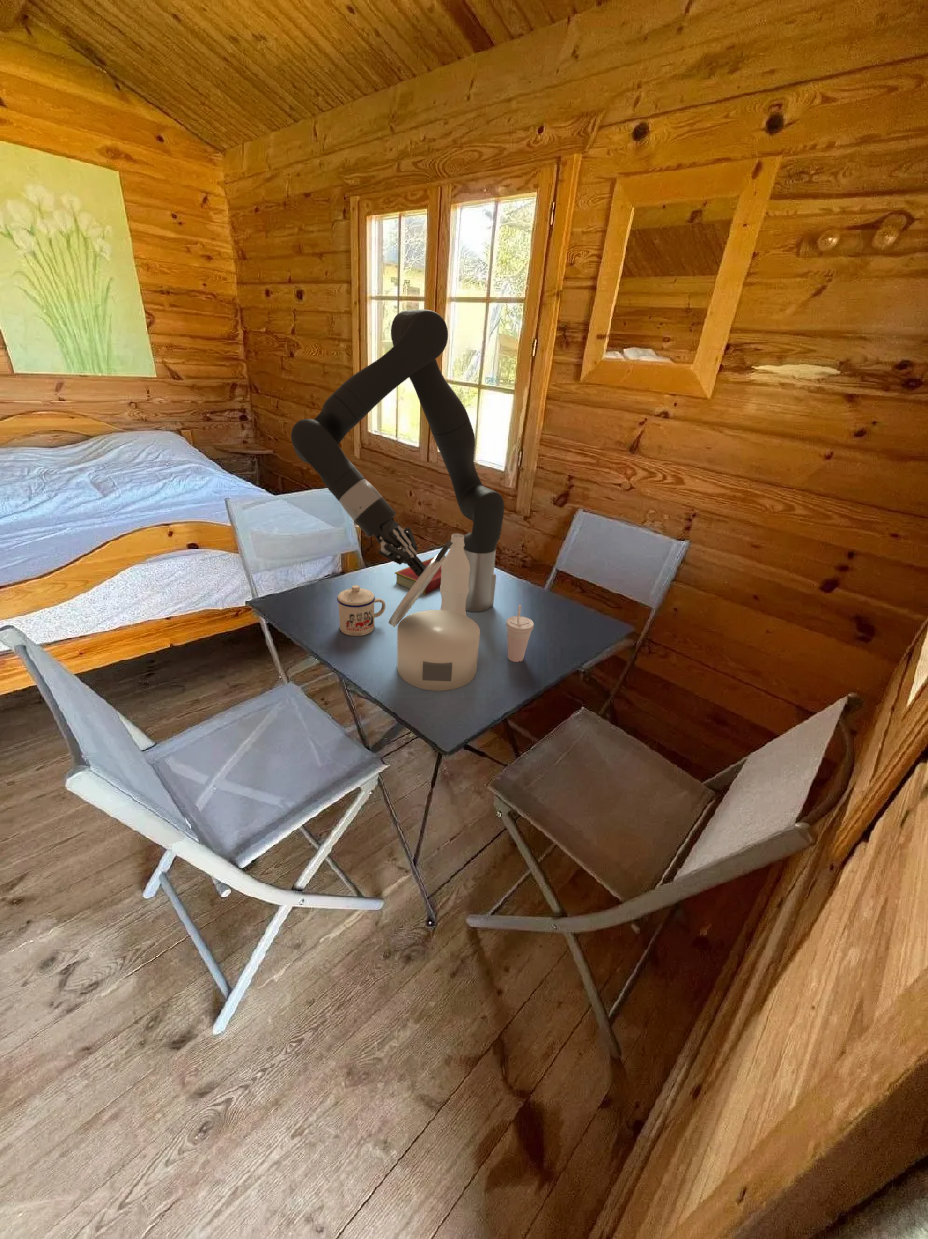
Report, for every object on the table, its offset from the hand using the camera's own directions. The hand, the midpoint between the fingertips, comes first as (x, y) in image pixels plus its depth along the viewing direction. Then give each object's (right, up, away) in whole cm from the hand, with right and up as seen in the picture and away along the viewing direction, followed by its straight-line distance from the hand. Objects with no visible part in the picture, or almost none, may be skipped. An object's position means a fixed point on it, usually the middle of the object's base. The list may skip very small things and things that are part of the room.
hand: (423, 573), depth 107 cm
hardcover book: (-1, +2, +53) cm, 53 cm away
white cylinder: (+2, -21, +10) cm, 23 cm away
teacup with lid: (-17, -12, +24) cm, 32 cm away
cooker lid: (0, -3, +1) cm, 3 cm away
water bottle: (+5, -12, +27) cm, 30 cm away
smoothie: (+21, -19, +16) cm, 32 cm away
